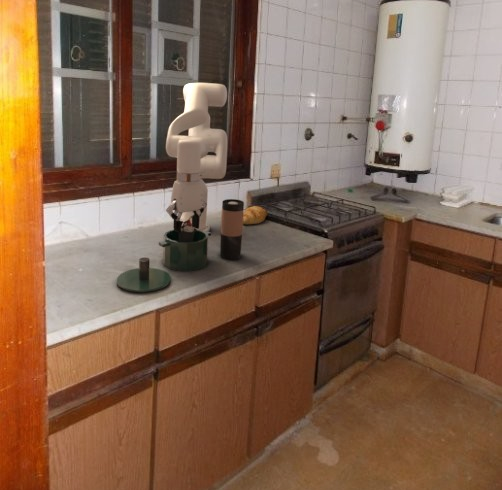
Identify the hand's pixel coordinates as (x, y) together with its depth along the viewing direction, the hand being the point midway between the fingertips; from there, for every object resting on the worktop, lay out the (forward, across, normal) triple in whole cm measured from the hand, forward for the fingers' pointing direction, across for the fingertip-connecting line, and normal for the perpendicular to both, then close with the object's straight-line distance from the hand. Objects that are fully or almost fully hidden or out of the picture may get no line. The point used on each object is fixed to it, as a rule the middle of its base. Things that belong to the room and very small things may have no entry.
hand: (186, 229), depth 146 cm
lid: (+11, +19, +5) cm, 23 cm away
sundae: (+10, 0, 0) cm, 10 cm away
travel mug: (+12, -16, +5) cm, 21 cm away
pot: (+12, 0, 0) cm, 12 cm away
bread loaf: (+12, -54, -21) cm, 59 cm away
